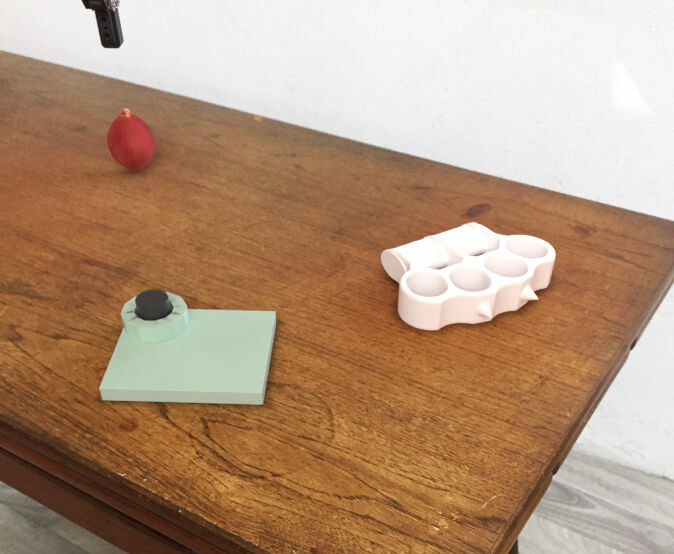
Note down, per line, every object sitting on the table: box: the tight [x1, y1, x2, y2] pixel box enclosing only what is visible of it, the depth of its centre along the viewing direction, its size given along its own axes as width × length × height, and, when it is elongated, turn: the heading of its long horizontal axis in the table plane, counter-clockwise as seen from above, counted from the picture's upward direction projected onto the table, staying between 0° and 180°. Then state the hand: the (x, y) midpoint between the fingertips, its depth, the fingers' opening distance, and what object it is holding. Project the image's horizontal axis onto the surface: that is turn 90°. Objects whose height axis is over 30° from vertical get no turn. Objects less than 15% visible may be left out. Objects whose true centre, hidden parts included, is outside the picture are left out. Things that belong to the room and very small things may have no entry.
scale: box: [98, 291, 277, 406], centre depth 68 cm, size 14×12×3 cm
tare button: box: [135, 289, 171, 321], centre depth 69 cm, size 3×3×2 cm
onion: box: [106, 107, 157, 174], centre depth 93 cm, size 6×6×8 cm
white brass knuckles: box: [380, 221, 557, 331], centre depth 76 cm, size 3×18×15 cm
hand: (113, 45), depth 85 cm, fingers closed
